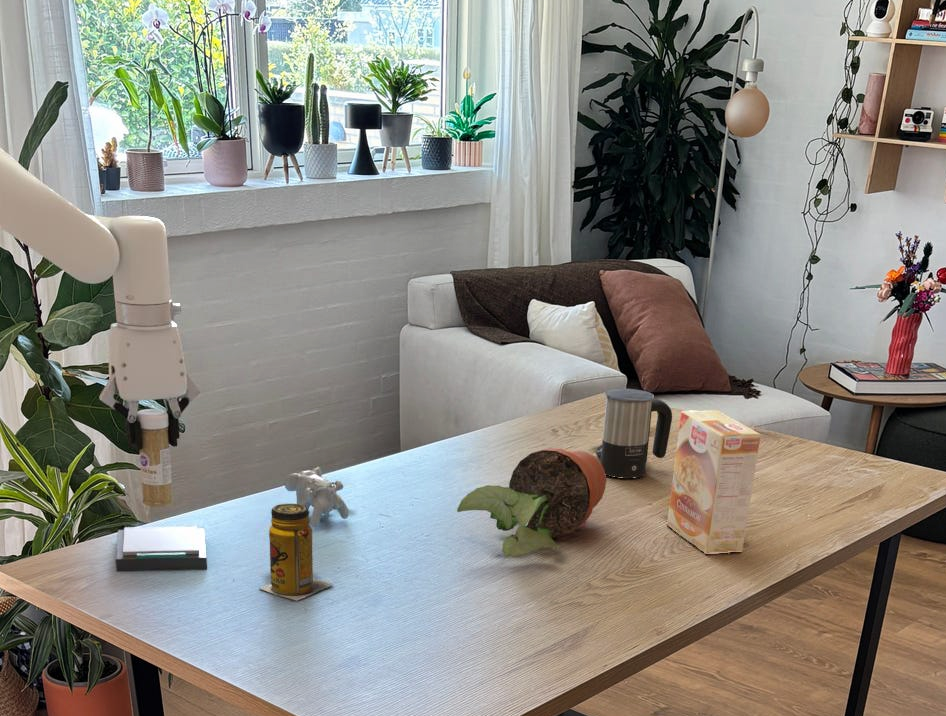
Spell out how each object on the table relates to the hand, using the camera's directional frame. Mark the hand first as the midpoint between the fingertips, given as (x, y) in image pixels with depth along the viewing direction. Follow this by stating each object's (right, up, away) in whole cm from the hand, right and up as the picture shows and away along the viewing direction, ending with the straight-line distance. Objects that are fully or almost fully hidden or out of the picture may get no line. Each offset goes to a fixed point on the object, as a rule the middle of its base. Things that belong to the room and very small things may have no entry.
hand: (153, 444), depth 189 cm
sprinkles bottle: (0, -8, +5) cm, 9 cm away
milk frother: (+74, +13, +63) cm, 98 cm away
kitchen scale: (-1, -15, +8) cm, 17 cm away
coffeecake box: (+85, -8, +28) cm, 90 cm away
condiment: (+21, -21, -1) cm, 30 cm away
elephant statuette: (+19, -5, +26) cm, 33 cm away
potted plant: (+57, -11, +21) cm, 61 cm away
